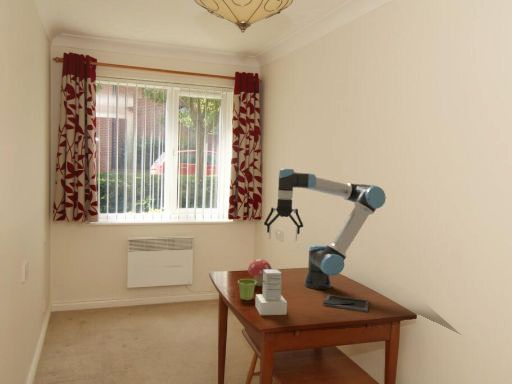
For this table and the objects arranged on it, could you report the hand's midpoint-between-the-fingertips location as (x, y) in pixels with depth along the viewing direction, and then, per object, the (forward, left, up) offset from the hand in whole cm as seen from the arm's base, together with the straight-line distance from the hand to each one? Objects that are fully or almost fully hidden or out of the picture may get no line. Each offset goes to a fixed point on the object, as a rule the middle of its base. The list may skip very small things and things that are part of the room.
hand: (282, 239), depth 219 cm
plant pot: (+17, +10, -29) cm, 35 cm away
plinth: (+5, +25, -29) cm, 39 cm away
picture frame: (-33, +9, -29) cm, 45 cm away
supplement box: (+5, +25, -23) cm, 34 cm away
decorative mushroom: (+11, -12, -29) cm, 33 cm away
